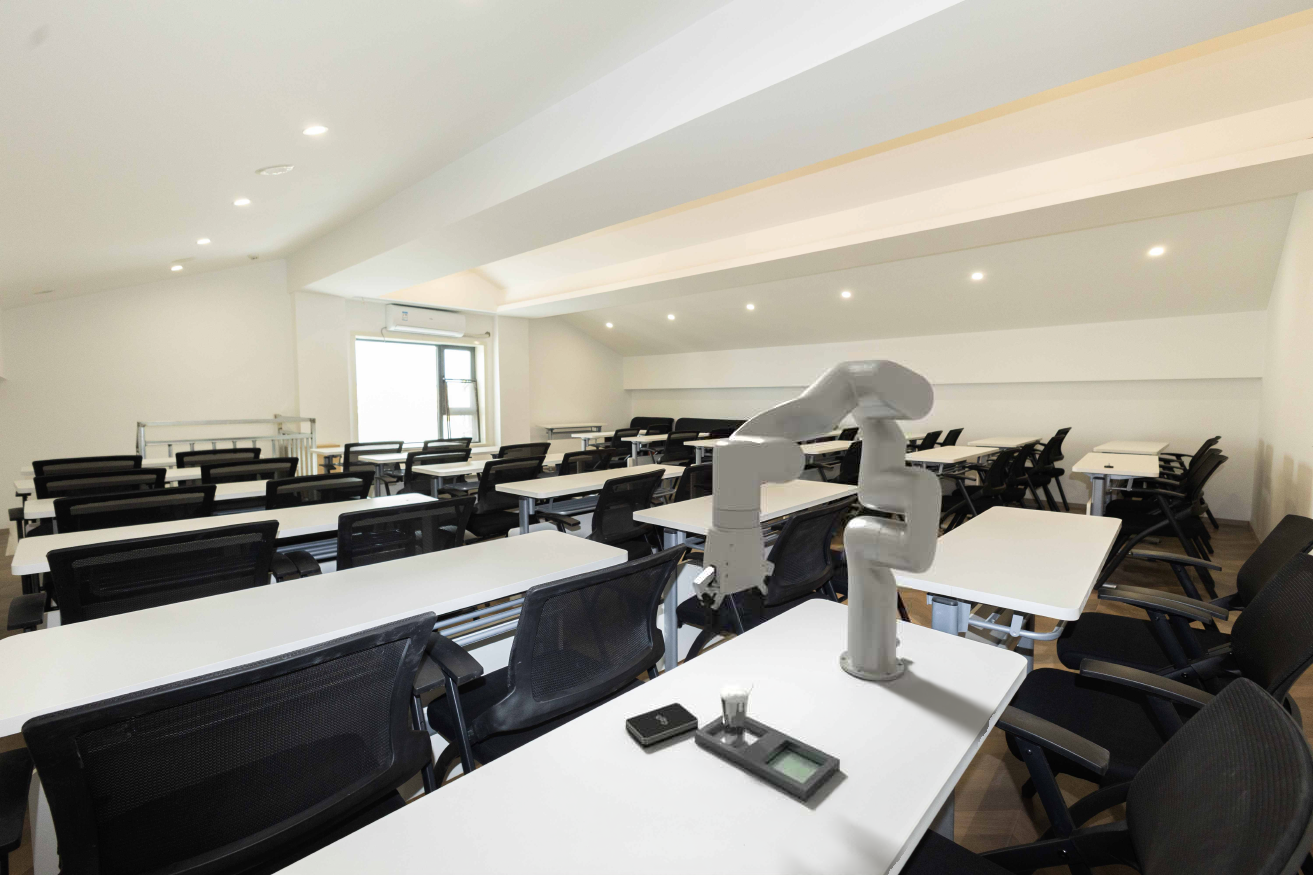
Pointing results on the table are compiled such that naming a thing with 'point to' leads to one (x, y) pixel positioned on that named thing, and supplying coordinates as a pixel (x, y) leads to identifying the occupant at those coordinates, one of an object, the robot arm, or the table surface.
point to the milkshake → (734, 714)
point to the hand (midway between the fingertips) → (735, 623)
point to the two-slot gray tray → (775, 758)
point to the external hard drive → (661, 724)
